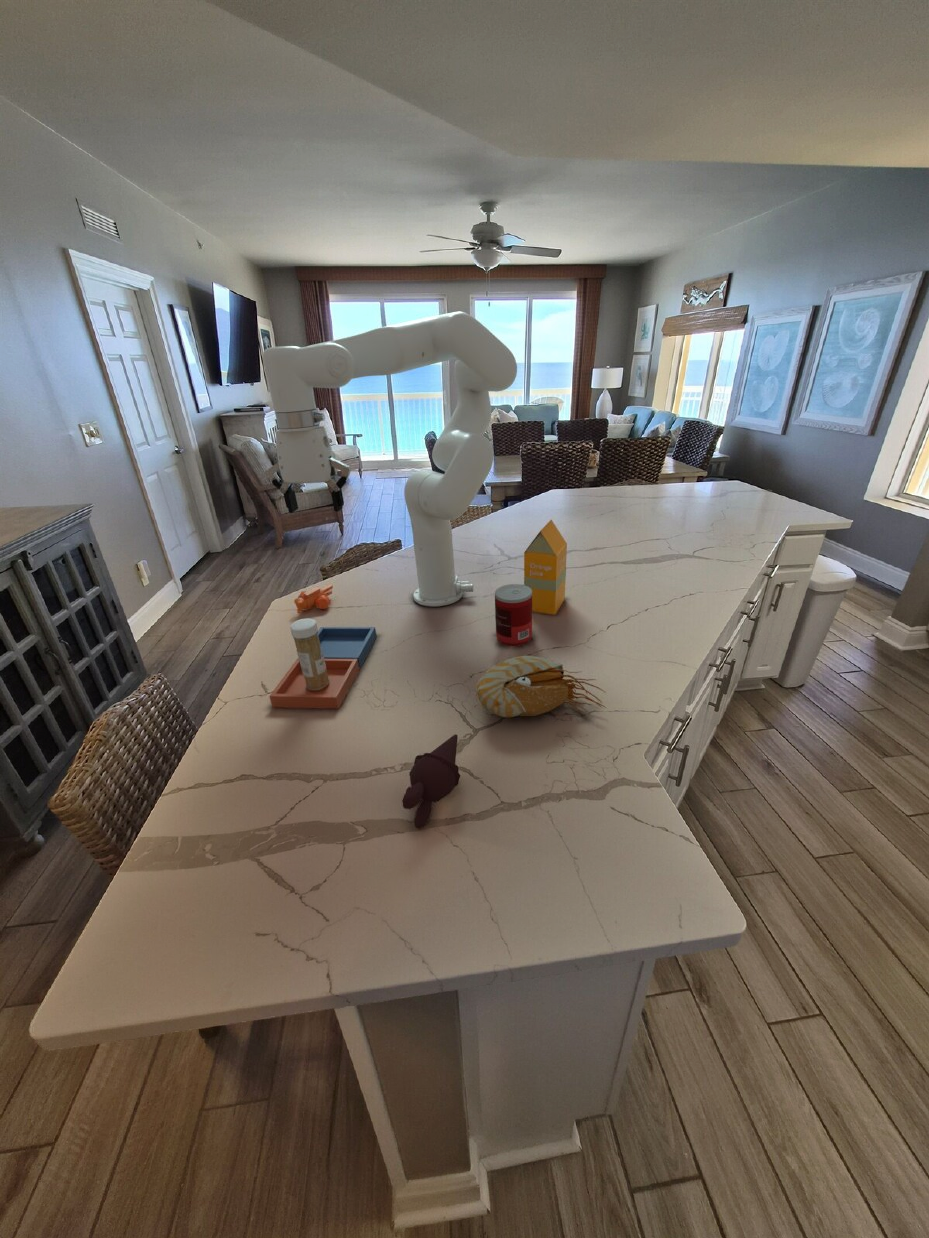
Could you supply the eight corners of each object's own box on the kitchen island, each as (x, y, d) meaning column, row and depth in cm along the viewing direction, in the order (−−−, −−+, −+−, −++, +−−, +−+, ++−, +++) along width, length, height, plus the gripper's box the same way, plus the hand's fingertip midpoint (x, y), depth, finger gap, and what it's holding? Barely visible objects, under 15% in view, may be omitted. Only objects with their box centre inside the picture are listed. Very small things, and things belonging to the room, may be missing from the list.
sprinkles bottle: (333, 686, 94) (319, 624, 88) (309, 695, 92) (293, 632, 86) (325, 675, 97) (311, 614, 91) (302, 683, 95) (286, 622, 89)
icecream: (427, 717, 75) (377, 796, 64) (470, 717, 71) (425, 801, 60) (443, 750, 78) (397, 832, 66) (484, 752, 74) (444, 839, 63)
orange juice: (565, 599, 122) (568, 520, 112) (555, 614, 115) (558, 532, 105) (534, 594, 125) (535, 517, 115) (523, 610, 118) (523, 529, 108)
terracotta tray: (359, 669, 100) (357, 658, 98) (338, 708, 88) (336, 697, 87) (300, 668, 101) (297, 658, 100) (272, 707, 90) (269, 696, 89)
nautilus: (609, 695, 88) (595, 756, 76) (494, 669, 95) (465, 721, 83) (615, 660, 84) (601, 718, 72) (495, 635, 91) (464, 685, 79)
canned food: (535, 630, 109) (535, 585, 104) (527, 649, 102) (527, 601, 97) (501, 627, 111) (500, 582, 106) (491, 645, 105) (490, 598, 99)
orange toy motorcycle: (323, 576, 129) (287, 594, 120) (345, 589, 127) (310, 608, 118) (322, 591, 132) (287, 610, 123) (343, 604, 130) (309, 624, 121)
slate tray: (376, 636, 111) (375, 626, 110) (360, 668, 100) (358, 657, 99) (323, 636, 112) (320, 626, 111) (300, 667, 101) (298, 657, 100)
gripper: (348, 416, 95) (362, 504, 103) (264, 421, 97) (284, 506, 106) (335, 421, 89) (351, 514, 97) (245, 426, 91) (268, 517, 99)
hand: (316, 510), depth 101 cm, fingers open, 9 cm apart
